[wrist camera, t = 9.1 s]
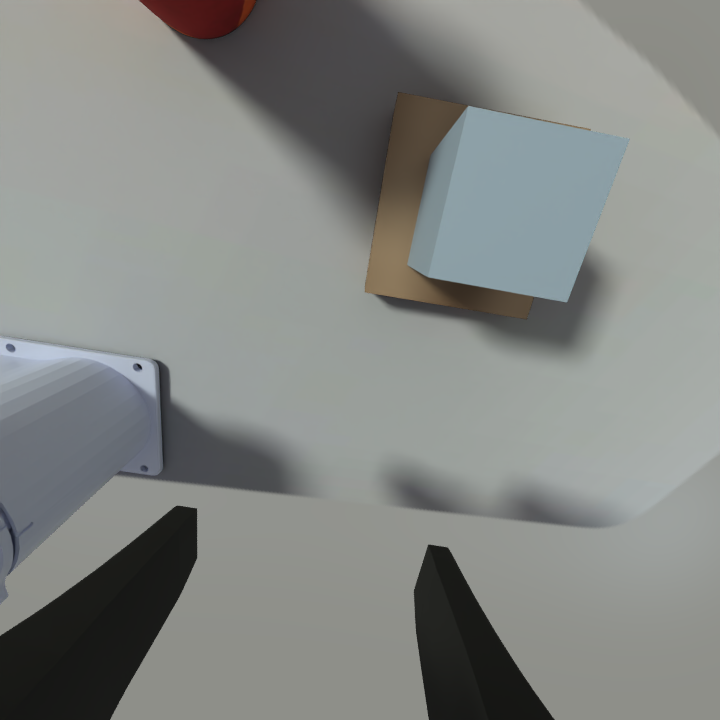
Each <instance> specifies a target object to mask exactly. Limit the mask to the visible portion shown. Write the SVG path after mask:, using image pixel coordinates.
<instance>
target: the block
mask: <svg viewBox="0 0 720 720" xmlns="http://www.w3.org/2000/svg"><path fill="white" fill-rule="evenodd" d="M629 140H630V139H628V138H623V137H618V136H613V135H609V134H604V133H599V132H594V131H589V130H584V129H579V128H574V127H570V126H565V125H560V124H555V123H550V122H545V121H540V120H535V119H530V118H526V117H521V116H516V115H511V114H506V113H501V112H496V111H491V110H487V109H482V108H477V107H472V106H468V107H467V108H466V110H465V111H464V112H463V113H462V115H461V116H460V117H459V119H458V120H457V121H456V123H455V124H454V125H453V127H452V128H451V129H450V130H449V132H448V133H447V134H446V136H445V137H444V138H443V140H442V141H441V142H440V144H439V145H438V146H437V147H436V149H435V150H434V151H433V153H432V154H431V155H430V160H429V164H428V169H427V174H426V178H425V183H424V188H423V193H422V197H421V202H420V207H419V211H418V216H417V221H416V225H415V230H414V235H413V239H412V244H411V249H410V253H409V258H408V263H407V265H408V266H410V267H411V268H413V269H415V270H416V271H418V272H420V273H421V274H423V275H425V276H427V277H429V278H435V279H440V280H446V281H451V282H457V283H462V284H468V285H473V286H479V287H484V288H490V289H496V290H501V291H507V292H512V293H518V294H523V295H529V296H534V297H540V298H545V299H551V300H556V301H562V302H567V301H568V299H569V296H570V293H571V291H572V288H573V286H574V283H575V280H576V278H577V275H578V272H579V270H580V267H581V265H582V262H583V259H584V257H585V254H586V252H587V249H588V246H589V244H590V241H591V239H592V236H593V233H594V231H595V228H596V226H597V223H598V220H599V218H600V215H601V213H602V210H603V207H604V205H605V202H606V199H607V197H608V194H609V192H610V189H611V186H612V184H613V181H614V179H615V176H616V173H617V171H618V168H619V166H620V163H621V160H622V158H623V155H624V153H625V150H626V147H627V145H628V142H629Z"/></svg>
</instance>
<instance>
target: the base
mask: <svg viewBox="0 0 720 720" xmlns="http://www.w3.org/2000/svg"><path fill="white" fill-rule="evenodd" d="M467 107H468V105H463V104H458V103H453V102H447V101H442V100H437V99H432V98H427V97H422V96H416V95H411V94H406V93H401V92H398V95H397V100H396V104H395V109H394V115H393V121H392V127H391V133H390V139H389V145H388V151H387V157H386V163H385V169H384V175H383V181H382V187H381V193H380V199H379V205H378V211H377V217H376V223H375V229H374V235H373V241H372V247H371V253H370V259H369V265H368V271H367V277H366V283H365V292H367V293H373V294H379V295H384V296H390V297H396V298H402V299H408V300H414V301H420V302H426V303H432V304H438V305H444V306H450V307H456V308H462V309H468V310H474V311H480V312H486V313H492V314H498V315H504V316H510V317H516V318H521V319H527V317H528V314H529V311H530V308H531V305H532V302H533V299H534V296H529V295H523V294H518V293H512V292H507V291H501V290H496V289H490V288H484V287H479V286H473V285H468V284H462V283H457V282H451V281H446V280H440V279H435V278H429V277H427V276H425V275H423V274H421V273H420V272H418V271H416V270H415V269H413V268H411V267H410V266H408V265H407V263H408V258H409V253H410V249H411V244H412V239H413V235H414V230H415V225H416V221H417V216H418V211H419V207H420V202H421V197H422V193H423V188H424V183H425V178H426V174H427V169H428V164H429V160H430V155H431V154H432V153H433V151H434V150H435V149H436V147H437V146H438V145H439V144H440V142H441V141H442V140H443V138H444V137H445V136H446V134H447V133H448V132H449V130H450V129H451V128H452V127H453V125H454V124H455V123H456V121H457V120H458V119H459V117H460V116H461V115H462V113H463V112H464V111H465V110H466V108H467ZM472 107H473V106H472ZM477 108H479V107H477ZM482 109H484V108H482ZM487 110H489V109H487ZM491 111H494V110H491ZM496 112H499V111H496ZM501 113H504V112H501ZM506 114H510V113H506ZM511 115H515V114H511ZM516 116H520V115H516ZM521 117H525V116H521ZM526 118H530V117H526ZM530 119H535V118H530ZM535 120H540V121H545V122H550V123H555V124H560V125H565V126H570V127H574V128H579V129H584V130H589V131H591V129H587V128H582V127H577V126H572V125H567V124H561V123H556V122H551V121H546V120H541V119H535Z"/></svg>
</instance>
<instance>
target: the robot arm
mask: <svg viewBox="0 0 720 720" xmlns="http://www.w3.org/2000/svg"><path fill="white" fill-rule="evenodd" d="M13 346H15V348H14V347H13ZM137 363H138V364H140V365H141V366H142V369H140V368H139V367H138V365H137ZM144 465H145V466H147V467H148V468H146V467H145V466H144ZM162 470H163V455H162V431H161V408H160V384H159V367H158V364H157V363H156V362H155V361H154V360H152V359H148V358H141V357H135V356H129V355H122V354H116V353H109V352H103V351H96V350H90V349H84V348H77V347H71V346H64V345H58V344H51V343H45V342H39V341H32V340H26V339H19V338H13V337H7V336H0V604H1V603H2V602H3V601H4V600H5V599H6V598H7V597H8V593H7V590H6V588H5V579H6V576H8V574H10V573H11V572H12V571H13V570H14V569H15V568H16V567H17V566H18V565H19V564H20V563H21V562H22V561H24V560H25V559H26V558H27V557H28V556H29V555H30V554H31V553H32V552H33V551H34V550H35V549H36V548H37V547H38V546H39V545H41V544H42V543H43V542H44V541H45V540H46V539H47V538H48V537H49V536H50V535H51V534H52V533H53V532H55V531H56V529H58V528H59V527H60V526H61V525H62V524H63V523H64V522H65V521H66V520H67V519H68V518H69V517H71V515H73V514H74V513H75V512H76V511H77V510H78V509H79V508H80V507H81V506H82V505H83V504H84V503H85V502H86V501H88V500H89V499H90V497H92V496H93V495H94V494H95V493H96V492H97V491H98V490H99V489H100V488H102V486H104V485H105V484H106V483H107V482H108V481H109V480H110V479H111V478H112V477H113V476H114V475H115V474H116V473H118V472H119V471H124V472H131V473H138V474H145V475H152V476H156V475H158V474H159V473H160V472H161V471H162ZM196 559H197V509H196V508H190V507H183V506H176V507H174V508H173V509H172V510H170V511H169V512H168V513H167V514H166V515H164V516H163V517H162V518H161V519H159V520H158V521H157V522H156V523H155V524H153V525H152V526H151V527H150V528H148V529H147V530H146V531H145V532H144V533H142V534H141V535H140V536H139V537H137V538H136V539H135V540H134V541H132V542H131V543H130V544H129V545H127V546H126V547H125V548H123V549H122V550H121V551H120V552H118V553H117V554H116V555H114V556H113V557H112V558H111V559H109V560H108V561H107V562H105V563H104V564H103V565H102V566H100V567H99V568H98V569H96V570H95V571H94V572H92V573H91V574H90V575H88V576H87V577H85V578H84V579H83V580H81V581H80V582H79V583H77V584H76V585H74V586H73V587H72V588H70V589H69V590H67V591H66V592H65V593H63V594H62V595H61V596H59V597H58V598H56V599H55V600H53V601H52V602H51V603H49V604H48V605H46V606H45V607H43V608H42V609H40V610H39V611H37V612H36V613H35V614H33V615H32V616H30V617H29V618H27V619H25V620H24V621H22V622H21V623H19V624H18V625H16V626H15V627H13V628H12V629H10V630H9V631H7V632H5V633H4V634H2V635H1V636H0V720H110V719H111V717H112V714H113V713H114V711H115V709H116V707H117V705H118V703H119V701H120V700H121V698H122V696H123V694H124V692H125V690H126V688H127V687H128V685H129V683H130V681H131V679H132V678H133V676H134V675H135V673H136V671H137V669H138V668H139V666H140V664H141V662H142V661H143V659H144V657H145V656H146V654H147V652H148V650H149V649H150V647H151V645H152V644H153V642H154V640H155V638H156V637H157V635H158V633H159V631H160V630H161V628H162V626H163V624H164V623H165V621H166V619H167V617H168V616H169V614H170V612H171V610H172V609H173V607H174V605H175V603H176V602H177V600H178V598H179V596H180V594H181V592H182V590H183V588H184V586H185V583H186V582H187V579H188V577H189V575H190V573H191V570H192V568H193V566H194V564H195V561H196ZM414 602H415V621H416V622H415V623H416V634H417V642H418V649H419V656H420V662H421V670H422V676H423V683H424V689H425V697H426V704H427V710H428V717H429V720H554V718H553V717H552V716H551V714H550V713H549V711H548V710H547V709H546V707H545V706H544V704H543V703H542V702H541V700H540V699H539V697H538V696H537V695H536V694H535V692H534V691H533V689H532V688H531V686H530V685H529V683H528V682H527V680H526V679H525V677H524V676H523V674H522V673H521V671H520V670H519V668H518V667H517V665H516V664H515V662H514V661H513V659H512V657H511V656H510V654H509V653H508V651H507V650H506V648H505V647H504V645H503V643H502V642H501V640H500V639H499V637H498V635H497V634H496V632H495V630H494V629H493V627H492V625H491V624H490V622H489V620H488V619H487V617H486V615H485V614H484V612H483V610H482V608H481V607H480V605H479V603H478V602H477V600H476V598H475V596H474V595H473V593H472V591H471V589H470V587H469V585H468V584H467V582H466V580H465V578H464V576H463V574H462V573H461V571H460V569H459V567H458V565H457V563H456V561H455V559H454V557H453V556H452V554H451V552H450V550H449V549H448V548H447V547H441V546H434V545H428V547H427V551H426V554H425V557H424V560H423V563H422V567H421V570H420V573H419V577H418V579H417V583H416V586H415V589H414Z"/></svg>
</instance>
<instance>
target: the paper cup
mask: <svg viewBox="0 0 720 720" xmlns="http://www.w3.org/2000/svg"><path fill="white" fill-rule="evenodd" d="M139 1H140V2H141V3H143V4H144V5H145V6H146V7H147V8H148V9H149V10H150V11H152V12H153V13H154V14H155V15H156V16H158V17H159V18H160V19H161V20H162V21H164V22H165V23H166V24H167V25H169V26H170V27H172V28H173V29H175V30H177V31H178V32H180V33H182V34H185V35H187V36H190V37H193V38H198V39H214V38H218V37H222V36H224V35H227V34H229V33H230V32H232V31H233V30H235V29H236V28H237V27H239V26H240V25H241V24H242V23H243V22H244V21H245V19H246V18H247V17H248V15H249V14H250V12H251V11H252V9H253V7H254V5H255V3H256V0H139Z"/></svg>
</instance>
